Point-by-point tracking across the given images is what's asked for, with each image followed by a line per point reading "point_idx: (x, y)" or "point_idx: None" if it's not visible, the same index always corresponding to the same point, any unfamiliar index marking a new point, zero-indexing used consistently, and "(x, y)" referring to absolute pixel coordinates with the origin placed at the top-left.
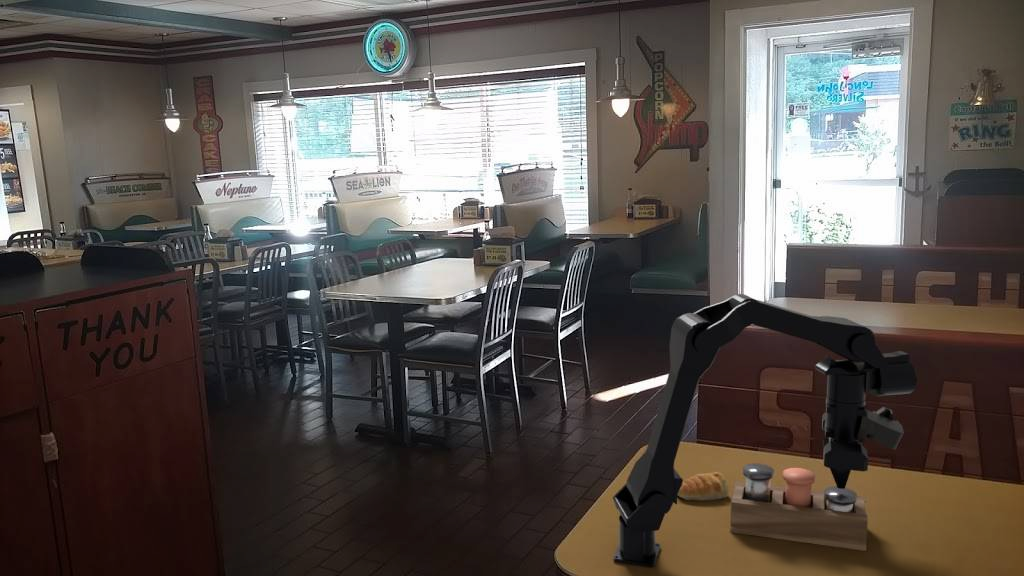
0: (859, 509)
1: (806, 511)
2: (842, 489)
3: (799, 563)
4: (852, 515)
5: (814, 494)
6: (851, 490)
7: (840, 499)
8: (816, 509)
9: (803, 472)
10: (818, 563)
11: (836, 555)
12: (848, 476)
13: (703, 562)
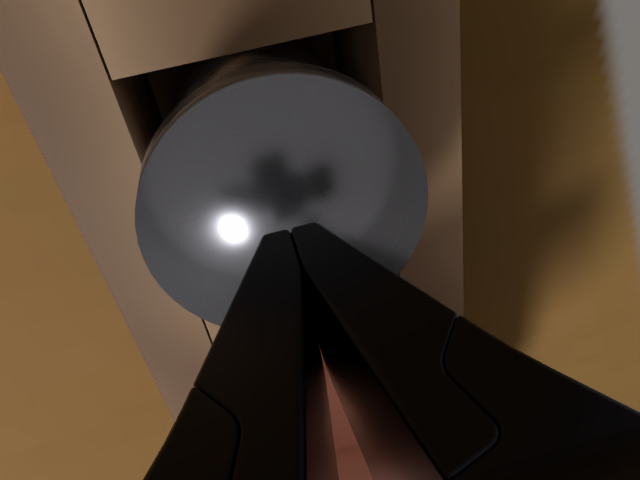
0: (281, 7)
1: (461, 308)
2: (193, 226)
3: (597, 177)
4: (424, 44)
5: (193, 340)
6: (168, 151)
7: (418, 193)
8: (412, 274)
9: None
10: (583, 109)
11: (490, 48)
12: (422, 291)
13: (634, 402)
